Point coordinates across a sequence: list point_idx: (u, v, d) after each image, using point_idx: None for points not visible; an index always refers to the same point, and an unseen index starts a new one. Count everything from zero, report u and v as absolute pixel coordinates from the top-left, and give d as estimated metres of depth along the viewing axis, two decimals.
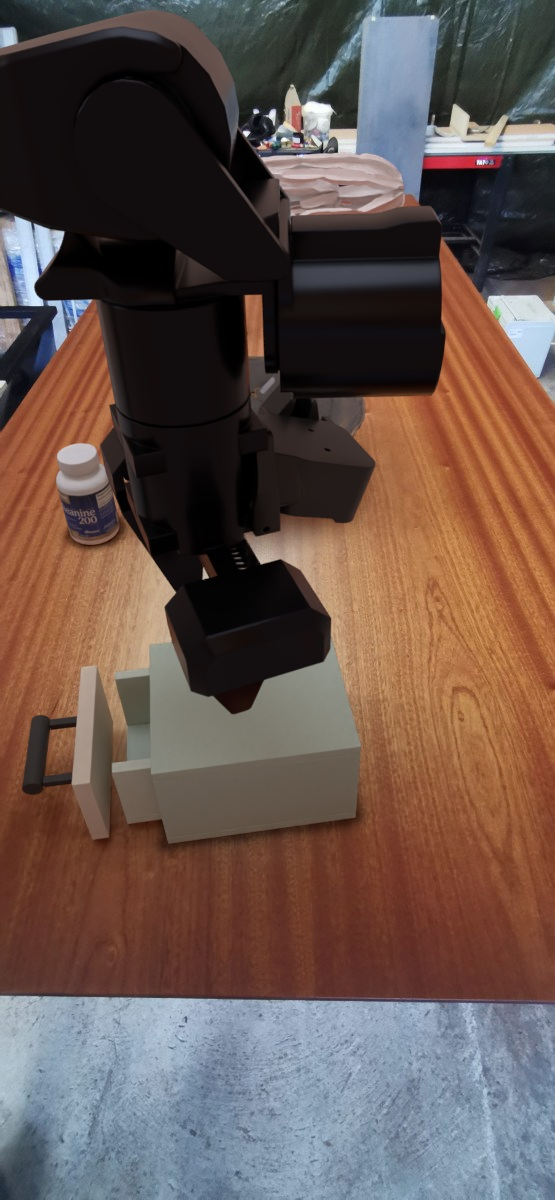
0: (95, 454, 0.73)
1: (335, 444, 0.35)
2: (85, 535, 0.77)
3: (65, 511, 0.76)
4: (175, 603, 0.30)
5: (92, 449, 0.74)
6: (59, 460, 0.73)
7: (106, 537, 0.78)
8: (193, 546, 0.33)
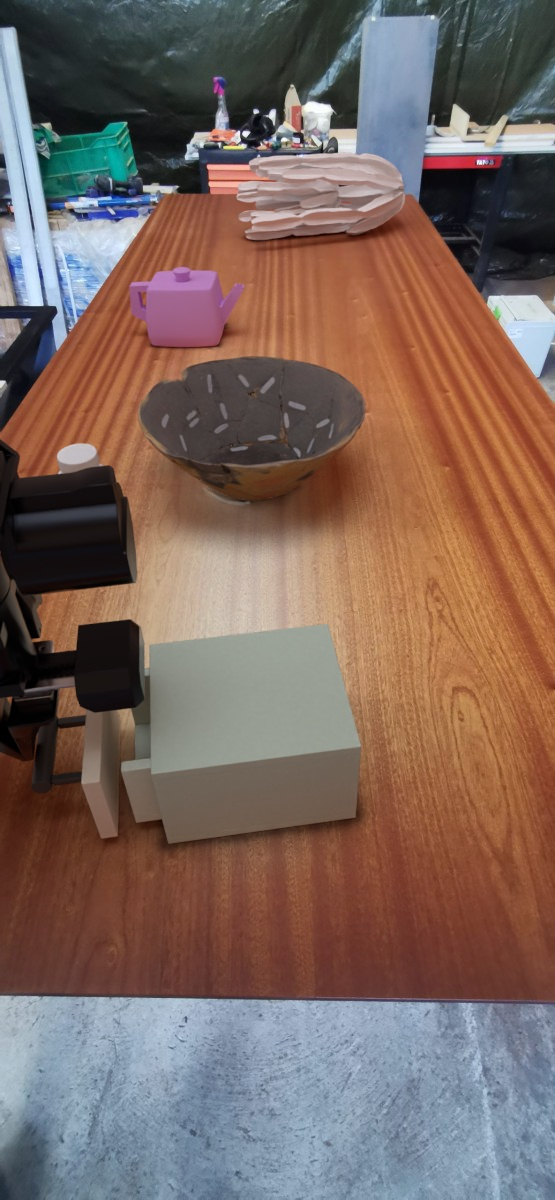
0: (95, 454, 0.73)
1: None
2: None
3: None
4: (82, 684, 0.45)
5: (92, 449, 0.74)
6: (59, 460, 0.73)
7: None
8: (31, 669, 0.46)
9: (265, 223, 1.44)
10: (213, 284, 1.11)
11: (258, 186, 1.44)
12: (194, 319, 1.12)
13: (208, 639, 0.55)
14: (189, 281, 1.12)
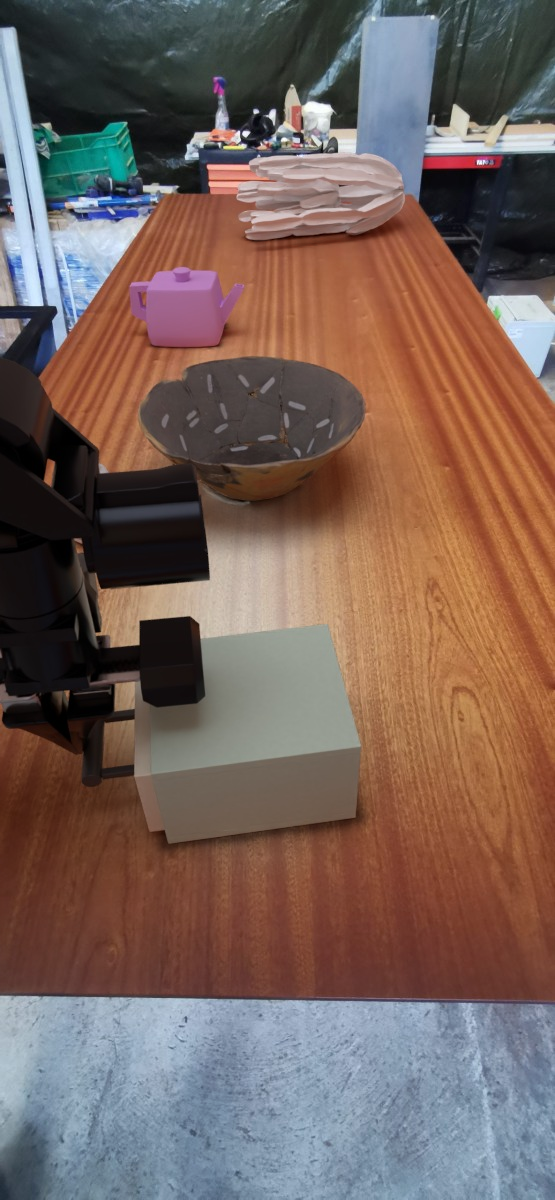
0: None
1: None
2: None
3: None
4: (147, 679, 0.45)
5: None
6: None
7: None
8: (95, 662, 0.46)
9: (265, 223, 1.44)
10: (213, 284, 1.11)
11: (258, 186, 1.44)
12: (194, 319, 1.12)
13: (208, 639, 0.55)
14: (189, 281, 1.12)
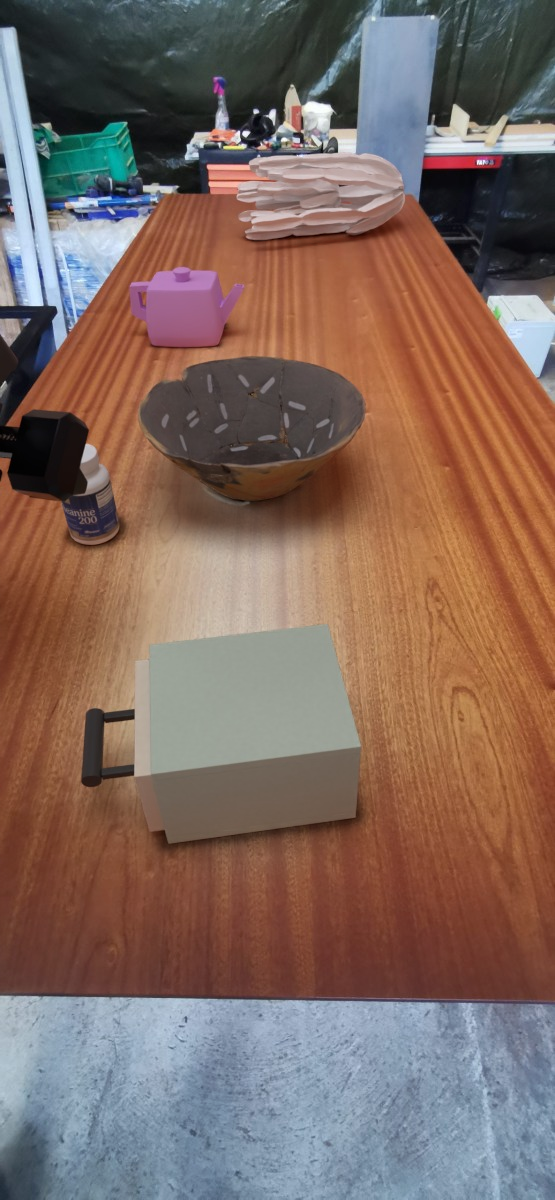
0: (95, 454, 0.73)
1: None
2: (85, 535, 0.77)
3: (65, 511, 0.76)
4: (14, 482, 0.53)
5: (92, 449, 0.74)
6: None
7: (106, 537, 0.78)
8: None
9: (265, 223, 1.44)
10: (213, 284, 1.11)
11: (258, 186, 1.44)
12: (194, 319, 1.12)
13: (208, 639, 0.55)
14: (189, 281, 1.12)
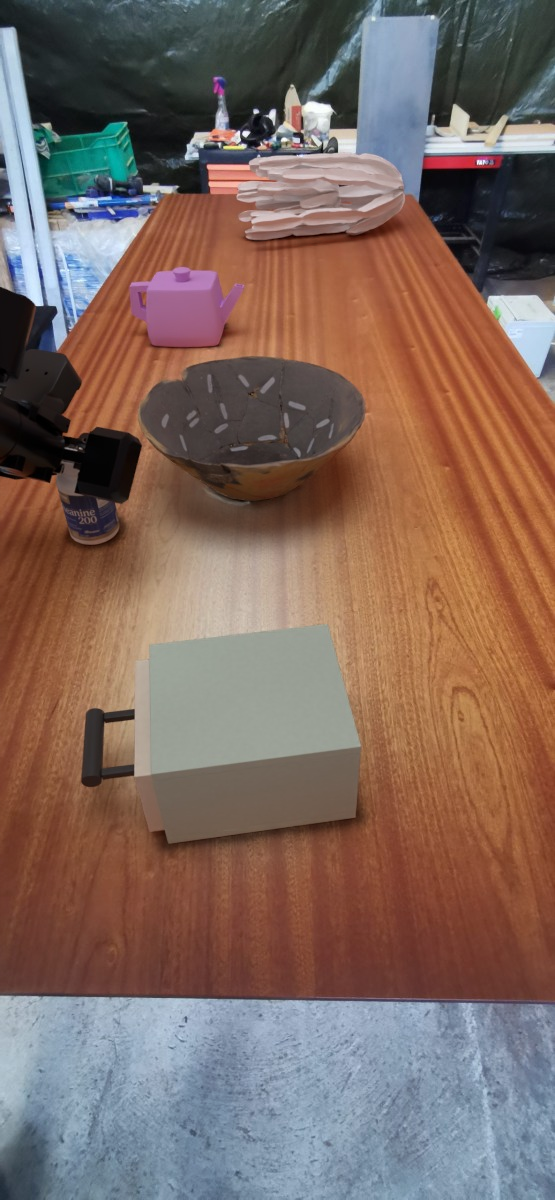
0: None
1: (43, 365, 0.65)
2: (84, 535, 0.77)
3: (65, 511, 0.76)
4: (82, 488, 0.66)
5: None
6: None
7: (106, 537, 0.78)
8: (56, 462, 0.67)
9: (265, 223, 1.44)
10: (213, 284, 1.11)
11: (258, 186, 1.44)
12: (194, 319, 1.12)
13: (208, 639, 0.55)
14: (189, 281, 1.12)
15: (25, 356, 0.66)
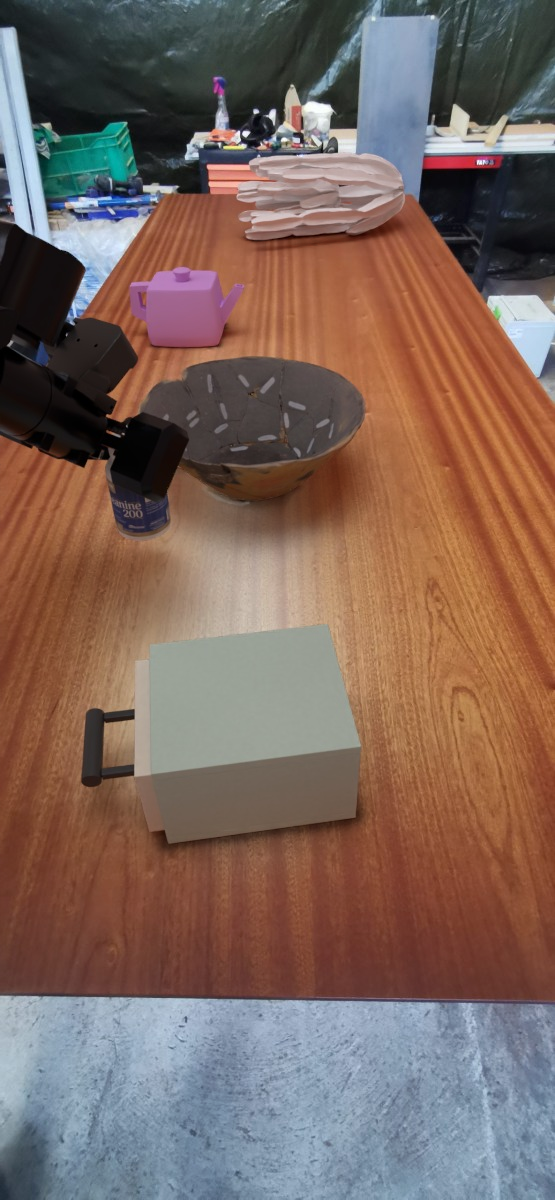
0: None
1: (95, 336, 0.58)
2: (128, 529, 0.70)
3: (111, 500, 0.69)
4: (115, 479, 0.58)
5: None
6: None
7: (151, 535, 0.70)
8: (94, 446, 0.59)
9: (265, 223, 1.44)
10: (213, 284, 1.11)
11: (258, 186, 1.44)
12: (194, 319, 1.12)
13: (208, 639, 0.55)
14: (189, 281, 1.12)
15: (80, 324, 0.59)
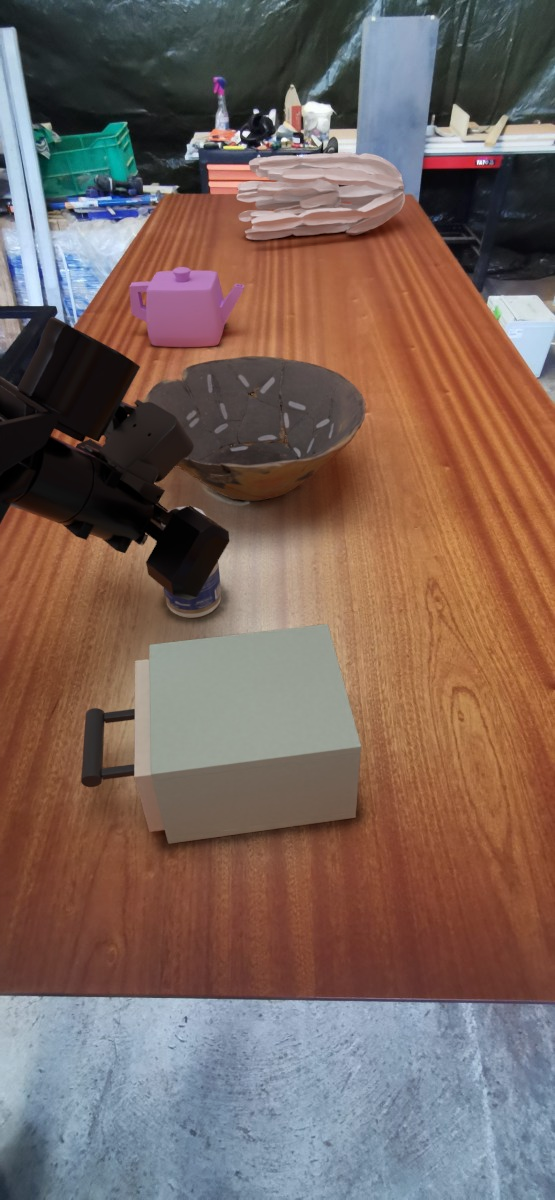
0: None
1: (150, 424, 0.57)
2: (174, 605, 0.69)
3: None
4: (150, 571, 0.57)
5: None
6: None
7: (197, 613, 0.69)
8: (136, 533, 0.58)
9: (265, 223, 1.44)
10: (213, 284, 1.11)
11: (258, 186, 1.44)
12: (194, 319, 1.12)
13: (208, 639, 0.55)
14: (189, 281, 1.12)
15: (140, 408, 0.58)
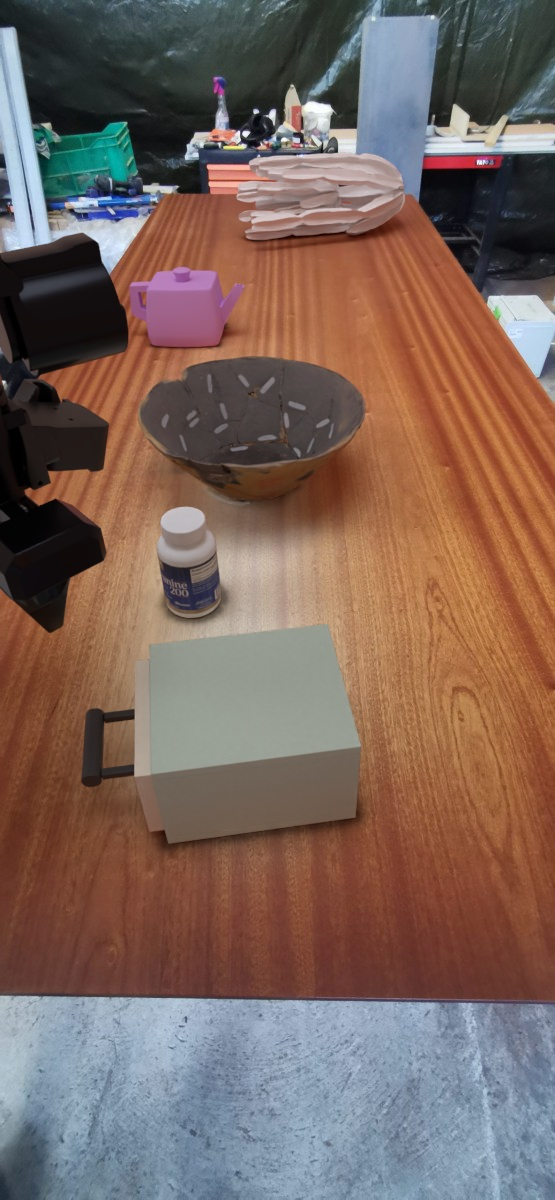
0: (200, 526, 0.64)
1: (76, 415, 0.48)
2: (174, 605, 0.69)
3: (161, 574, 0.68)
4: None
5: (200, 519, 0.65)
6: (161, 523, 0.65)
7: (197, 614, 0.69)
8: None
9: (265, 223, 1.44)
10: (213, 284, 1.11)
11: (258, 186, 1.44)
12: (194, 319, 1.12)
13: (208, 639, 0.55)
14: (189, 281, 1.12)
15: (67, 403, 0.50)
